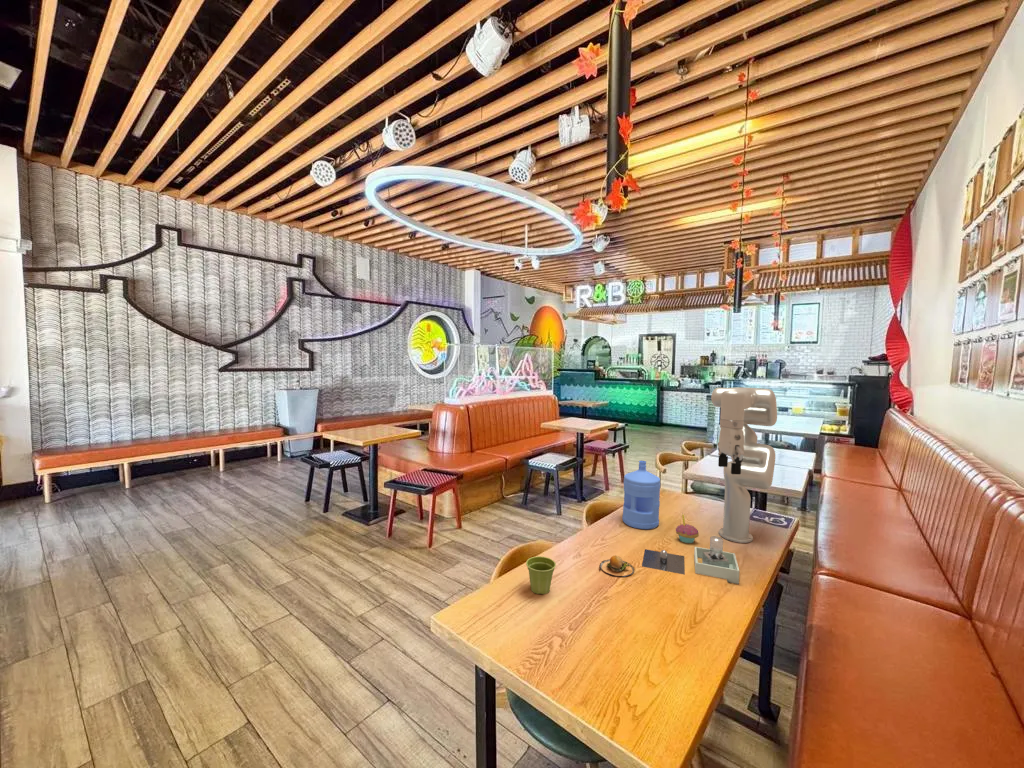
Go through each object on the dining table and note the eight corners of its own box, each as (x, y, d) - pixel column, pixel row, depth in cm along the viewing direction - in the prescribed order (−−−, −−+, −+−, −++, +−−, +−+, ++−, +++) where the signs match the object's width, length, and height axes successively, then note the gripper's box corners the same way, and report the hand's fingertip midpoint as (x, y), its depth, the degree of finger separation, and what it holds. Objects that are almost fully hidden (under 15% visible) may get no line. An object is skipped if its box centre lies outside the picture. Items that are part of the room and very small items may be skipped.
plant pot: (539, 578, 141) (539, 553, 140) (561, 589, 134) (561, 563, 134) (519, 589, 134) (520, 562, 134) (541, 601, 128) (542, 574, 127)
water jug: (634, 513, 199) (636, 455, 197) (665, 523, 188) (667, 462, 185) (615, 522, 189) (617, 460, 186) (647, 533, 177) (649, 468, 175)
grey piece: (720, 564, 150) (721, 534, 149) (728, 573, 144) (730, 542, 143) (702, 564, 150) (703, 534, 150) (710, 573, 144) (711, 542, 143)
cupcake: (675, 544, 167) (676, 515, 166) (675, 536, 174) (676, 508, 174) (698, 548, 163) (700, 519, 163) (697, 540, 171) (699, 511, 170)
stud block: (644, 551, 161) (645, 539, 160) (684, 558, 155) (684, 545, 155) (641, 569, 148) (642, 555, 147) (684, 577, 142) (685, 563, 142)
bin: (694, 558, 156) (694, 546, 155) (734, 565, 151) (734, 553, 150) (695, 576, 143) (695, 563, 143) (738, 584, 139) (739, 570, 138)
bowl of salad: (640, 572, 146) (641, 551, 146) (623, 585, 138) (624, 563, 137) (609, 560, 154) (610, 540, 154) (592, 572, 146) (593, 551, 145)
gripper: (754, 428, 144) (752, 477, 145) (730, 420, 161) (728, 464, 163) (732, 428, 144) (730, 477, 146) (710, 420, 162) (708, 463, 163)
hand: (729, 470), depth 154 cm, fingers open, 9 cm apart
